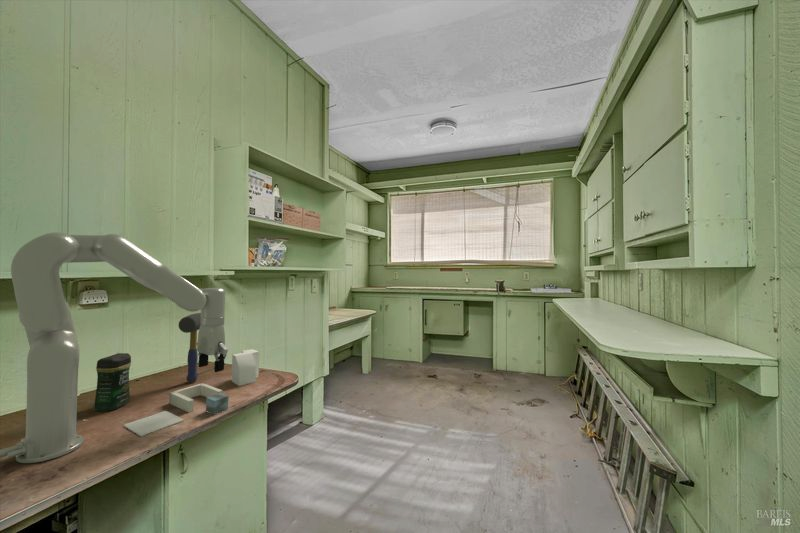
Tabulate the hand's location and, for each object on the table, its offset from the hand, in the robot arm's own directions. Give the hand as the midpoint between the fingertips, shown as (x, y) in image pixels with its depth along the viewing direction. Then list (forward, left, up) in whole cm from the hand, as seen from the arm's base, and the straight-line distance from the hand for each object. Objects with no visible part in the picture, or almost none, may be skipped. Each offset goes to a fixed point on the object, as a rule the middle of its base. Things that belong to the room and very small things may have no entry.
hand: (211, 368), depth 117 cm
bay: (0, +9, -14) cm, 17 cm away
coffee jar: (-18, +29, -15) cm, 37 cm away
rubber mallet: (+10, +31, -14) cm, 36 cm away
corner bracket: (+25, +15, -15) cm, 33 cm away
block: (0, -4, -14) cm, 15 cm away
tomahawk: (+23, +40, -15) cm, 48 cm away
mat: (-16, +3, -14) cm, 22 cm away
